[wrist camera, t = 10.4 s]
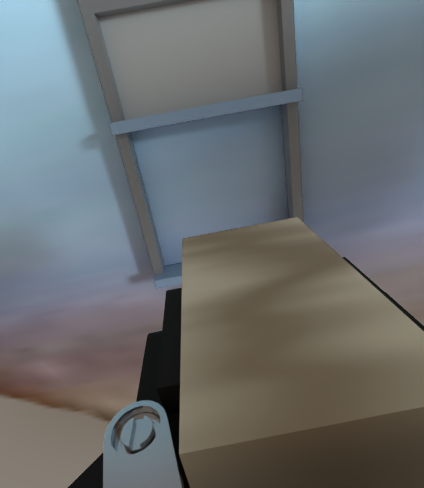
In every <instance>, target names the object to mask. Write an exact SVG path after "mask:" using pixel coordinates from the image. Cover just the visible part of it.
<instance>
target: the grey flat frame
mask: <svg viewBox="0 0 424 488" xmlns="http://www.w3.org/2000/svg"><path fill="white" fill-rule="evenodd" d="M77 1H78V4H79V8H80V11H81V15H82V18H83V22H84V26H85V29H86V33H87V36H88V40H89V43H90V47H91V50H92V54H93V58H94V61H95V65H96V68H97V72H98V75H99V79H100V82H101V86H102V90H103V93H104V97H105V100H106V104H107V107H108V111H109V114H110V118H111V122H112V123H109V127H110V130H111V134H112V135H115V136H116V139H117V143H118V146H119V150H120V154H121V157H122V161H123V164H124V168H125V171H126V175H127V178H128V182H129V186H130V189H131V193H132V196H133V200H134V203H135V207H136V210H137V214H138V218H139V221H140V225H141V228H142V232H143V235H144V239H145V242H146V246H147V250H148V253H149V257H150V260H151V264H152V267H153V271H154V274H155V276H154V284H155V288H156V289H157V288H163V287H168V286H173V285H179V284H182V263H177V264H172V265H167V266H165V265H164V261H163V258H162V254H161V250H160V246H159V242H158V238H157V235H156V231H155V227H154V223H153V219H152V216H151V212H150V208H149V204H148V200H147V196H146V193H145V189H144V185H143V181H142V177H141V174H140V170H139V166H138V162H137V158H136V154H135V151H134V147H133V143H132V139H131V135H130V132H133V131H138V130H144V129H149V128H155V127H160V126H166V125H171V124H177V123H182V122H188V121H193V120H199V119H204V118H210V117H215V116H221V115H226V114H232V113H237V112H242V111H248V110H253V109H259V108H264V107H270V106H275V105H281V108H282V124H283V139H284V154H285V170H286V185H287V200H288V216H289V219H290V218H295V217H298V218H299V219H300V220H301V221H302V222H303V206H302V184H301V161H300V139H299V116H298V101H303V96H302V88H299V89H297V71H296V49H295V26H294V4H293V0H77Z"/></svg>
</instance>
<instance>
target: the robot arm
mask: <svg viewBox="0 0 424 488" xmlns="http://www.w3.org/2000/svg"><path fill="white" fill-rule="evenodd" d="M342 258H343V259H344V260H345V261H347V262H348V263H349V264H350V265H351V266H352V267H353V268H354V269H355V270H356V271H358V272H359V273H360V274H361V275H362V276H363V277H364V278H365V279H366V280H368V281H369V282H370V283H371V284H372V285H373V286H374V287H375V288H376V289H377V290H379V291H380V292H381V293H382V294H383V295H384V296H385V297H386V298H387V299H389V300H390V301H391V302H392V303H393V304H394V305H395V306H396V307H397V308H398V309H400V310H401V311H402V312H403V313H404V314H405V315H406V316H407V317H408V318H409V319H411V320H412V321H413V322H414V323H415V324H416V325H417V326H418V327H419V328H421V329H422V330H423V331H424V326H423V325H422V324H421V323H420V322H419V321H417V320H416V319H415V318H414V317H413V316H412V315H411V314H409V313H408V312H407V311H406V310H405V309H404V308H403V307H402V306H400V305H399V304H398V303H397V302H396V301H395V300H394V299H392V298H391V297H390V296H389V295H388V294H387V293H386V292H384V291H383V290H382V289H380V288H379V287H378V286H377V285H376V284H375V283H374V282H373V281H371V280H370V279H369V278H368V277H367V276H366V275H365V274H363V273H362V272H361V271H360V270H359V269H358V268H357V267H356V266H354V265H353V264H352V263H351V262H350V261H349V260H348V259H347V258H345V257H342ZM181 303H182V288H178V289H173V290H168V291H166V300H165V310H164V320H163V329H162V331H159V332H154V333H149V334H148V337H147V341H146V347H145V353H144V359H143V365H142V371H141V377H140V383H139V389H138V395H137V401H136V402H134V403H132V404H130V405H128V406H126V407H124V408H123V409H122V410H121V411H120V412H118V413H117V414H116V415H115V417H114V418H113V419H112V420H111V422H110V423H109V425H108V428H107V430H106V432H105V436H104V444H103V446H104V448H103V449H104V451H103V453H102V454H101V455H100V456H99V457H98V458H97V459H96V460H95V461H94V462H93V463H92V464H91V465H90V466H89V467H88V468H87V469H86V470H85V471H84V472H83V473H82V474H81V475H80V476H79V477H78V478H77V479H76V480H75V481H74V482H73V483H72V484H71V485H70V486H69V487H68V488H190V486H189V483H188V480H187V477H186V474H185V471H184V468H183V465H182V462H181V459H180V456H179V422H180V363H181Z"/></svg>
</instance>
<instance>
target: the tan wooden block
mask: <svg viewBox="0 0 424 488" xmlns="http://www.w3.org/2000/svg"><path fill="white" fill-rule="evenodd" d="M179 456H180V459H181V462H182V465H183V468H184V471H185V474H186V477H187V480H188V483H189V486H190V488H424V331H423V330H422V329H421V328H419V327H418V326H417V325H416V324H415V323H414V322H413V321H412V320H411V319H409V318H408V317H407V316H406V315H405V314H404V313H403V312H402V311H401V310H400V309H398V308H397V307H396V306H395V305H394V304H393V303H392V302H391V301H390V300H389V299H387V298H386V297H385V296H384V295H383V294H382V293H381V292H380V291H379V290H377V289H376V288H375V287H374V286H373V285H372V284H371V283H370V282H369V281H368V280H366V279H365V278H364V277H363V276H362V275H361V274H360V273H359V272H358V271H356V270H355V269H354V268H353V267H352V266H351V265H350V264H349V263H348V262H347V261H345V260H344V259H343V258H342V257H341V256H340V255H339V254H338V253H337V252H335V251H334V250H333V249H332V248H331V247H330V246H329V245H328V244H327V243H326V242H324V241H323V240H322V239H321V238H320V237H319V236H318V235H317V234H316V233H314V232H313V231H312V230H311V229H310V228H309V227H308V226H307V225H306V224H305V223H303V222H302V221H301V220H300V219H299V218H298V217H295V218H290V219H284V220H279V221H274V222H268V223H263V224H258V225H252V226H247V227H241V228H236V229H231V230H225V231H220V232H215V233H209V234H204V235H198V236H193V237H188V238H183V244H182V303H181V363H180V422H179Z"/></svg>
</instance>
